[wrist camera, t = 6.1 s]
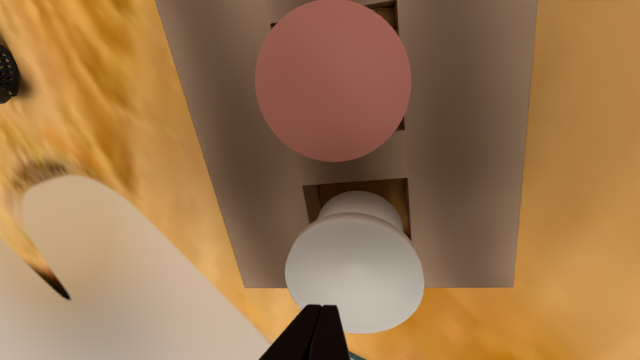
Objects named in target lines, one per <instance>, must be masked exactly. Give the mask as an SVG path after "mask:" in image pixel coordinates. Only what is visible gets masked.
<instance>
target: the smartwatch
mask: <svg viewBox="0 0 640 360" xmlns="http://www.w3.org/2000/svg"><path fill="white" fill-rule="evenodd" d="M0 50H1V51H0V61H1V62H0V66H3V68H2V69H0V104H3V103H6V102H7V101H8V100H9V99H10V98H11V97H13V96H16V95H17V93H18V89H19V79H18V71H17V67H16V64H15V61H14V59H13V57H12V55H11V54H10V53H9V51H8V50H7V49H6V48H4V47H3V46H2V45H1V44H0ZM2 54H5V55H6V56H3V55H2ZM5 59H8V60H9V62H6V60H5ZM7 65H11V68H8V66H7ZM9 71H12V72H13V73H12V74H9ZM3 72H5V73H4V74H3V75H1V74H2V73H3ZM10 78H12V80H10ZM2 79H4V80H2Z"/></svg>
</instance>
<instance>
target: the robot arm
mask: <svg viewBox="0 0 640 360" xmlns="http://www.w3.org/2000/svg"><path fill="white" fill-rule="evenodd" d="M259 360H350V355H349V351H348V347H347V343H346V339H345V335H344V331H343V326H342V322H341V318H340V314H339V310H338V307H337V305H323V306H322V305H320V304H308V305H306V306H305V307H304V308H303V310H302V311H301V312H300V313H299V314H298V315H297V316H296V318H295V319H294V320H293V321H292V322H291V323H290V324H289V326H288V327H287V328H286V329H285V330H284V331H283V332H282V334H281V335H280V336H279V337H278V338H277V339H276V340H275V342H274V343H273V344H272V345H271V346H270V347H269V348H268V350H267V351H266V352H265V353H264V354H263V355H262V356H261V357H260V359H259Z"/></svg>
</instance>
